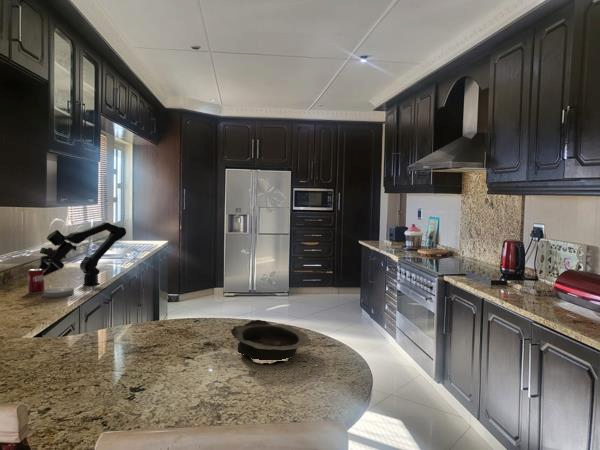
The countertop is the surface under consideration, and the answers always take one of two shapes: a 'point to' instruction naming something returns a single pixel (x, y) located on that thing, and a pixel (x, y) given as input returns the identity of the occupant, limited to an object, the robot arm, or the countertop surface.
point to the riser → (59, 292)
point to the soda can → (36, 281)
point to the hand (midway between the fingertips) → (39, 274)
